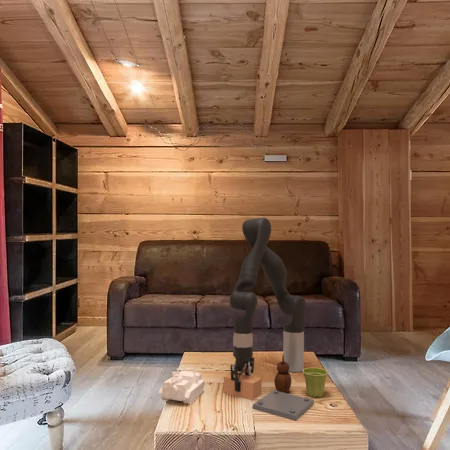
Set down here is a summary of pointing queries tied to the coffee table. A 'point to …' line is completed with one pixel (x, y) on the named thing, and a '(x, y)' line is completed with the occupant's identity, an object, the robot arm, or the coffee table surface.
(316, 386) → the plant pot
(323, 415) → the coffee table surface
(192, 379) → the toy tank
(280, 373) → the wooden figurine
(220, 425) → the coffee table surface
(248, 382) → the brick
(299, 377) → the coffee table surface
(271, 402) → the baseplate
